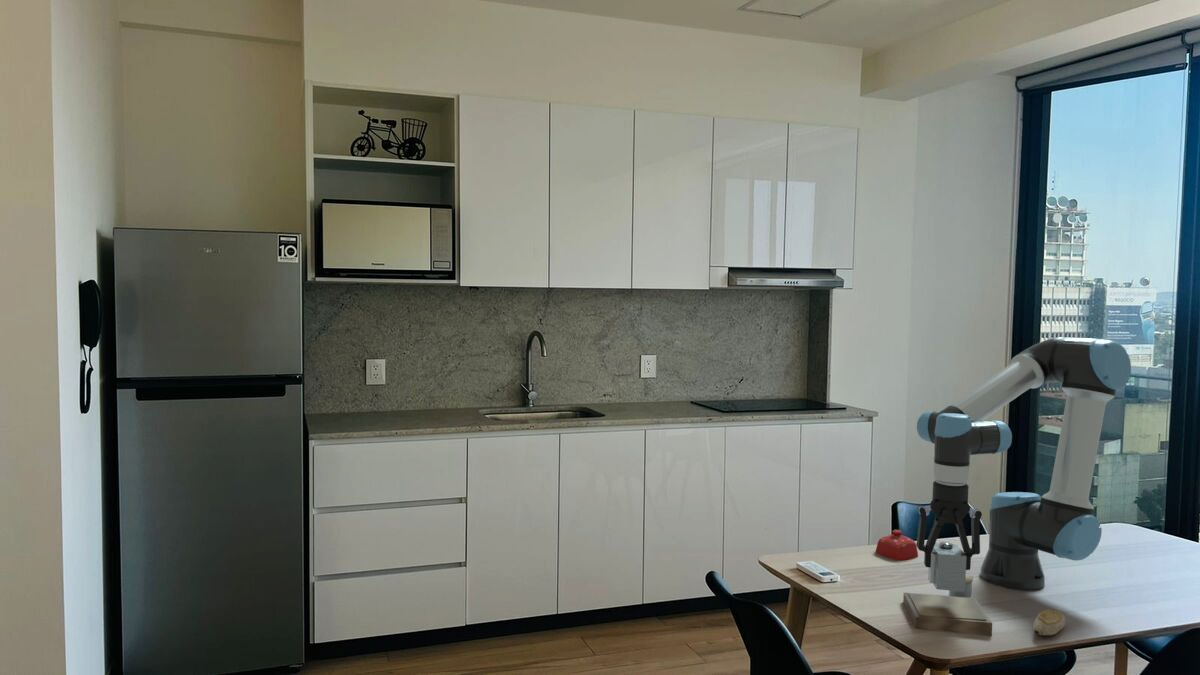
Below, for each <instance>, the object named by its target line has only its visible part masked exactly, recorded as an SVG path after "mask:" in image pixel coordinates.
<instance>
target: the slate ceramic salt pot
mask: <svg viewBox="0 0 1200 675" xmlns="http://www.w3.org/2000/svg"><path fill="white" fill-rule="evenodd" d="M973 581H974V577H973V575H972V574H970V573H967V572H966V579H965V591H952V590H948V596H957V597H971V598H972V592H973V590H972V588H973Z"/></svg>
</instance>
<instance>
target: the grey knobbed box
mask: <svg viewBox="0 0 1200 675" xmlns="http://www.w3.org/2000/svg"><path fill="white" fill-rule="evenodd" d="M932 552H933V553H934V554H935V567H934V583H932V584H933V586H934V588H935V590H938V591H939V590H942V591H949V590H952V591H965V579H966V573H967V570H966V557H967V556H966V555H965V554H964V551H963V549H961V547H960V546H959V545H958V544H953V542H949V541H939V543H937V542H936V543H935V545H934V548H933V551H932Z"/></svg>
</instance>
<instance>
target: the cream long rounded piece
mask: <svg viewBox="0 0 1200 675" xmlns="http://www.w3.org/2000/svg"><path fill="white" fill-rule="evenodd" d="M1065 624H1066V616H1065V614H1064V613H1063V612H1061V611H1059V610H1056V609H1052V608H1051V609H1045V610H1042V611H1041V612H1040V613H1038V614H1037V616H1036V617H1035V619H1034V622H1033V625H1032V632H1033V633H1035V634H1036V635H1039V636H1043V637H1044V636H1053V635H1056V634H1058V632H1060V631H1062V629H1064V627H1065Z"/></svg>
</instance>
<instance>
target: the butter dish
mask: <svg viewBox="0 0 1200 675" xmlns="http://www.w3.org/2000/svg"><path fill="white" fill-rule="evenodd" d="M902 534H903V532H902V530H900V529H894V530H892V534H888V535H885V536H882V537H881V538H879V539H878V541H877V544H876V548H875V553H876V554H878V555H880V556H883V557H886V558H888V559H891V560H894V561H898V562H901V561H902V562H903V561H908V560H912V559H916V558H918V557H919V550H918V548H917V546H916V544H917V542H916V541H915V540H913V539H912V538H909V537H907V536H905V535H902Z"/></svg>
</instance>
